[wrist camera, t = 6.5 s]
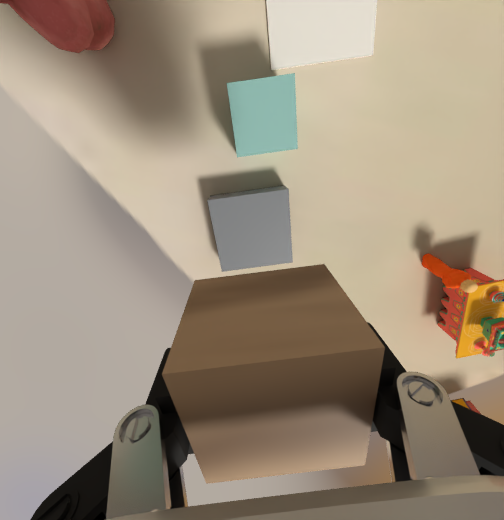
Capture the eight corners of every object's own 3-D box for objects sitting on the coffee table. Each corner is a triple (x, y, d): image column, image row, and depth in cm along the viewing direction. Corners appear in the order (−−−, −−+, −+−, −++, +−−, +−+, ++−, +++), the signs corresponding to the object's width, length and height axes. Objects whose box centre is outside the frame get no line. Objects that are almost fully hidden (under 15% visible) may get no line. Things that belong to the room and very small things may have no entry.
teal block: (229, 97, 22) (226, 83, 17) (283, 89, 22) (294, 73, 17) (237, 155, 24) (237, 157, 19) (286, 148, 24) (297, 148, 19)
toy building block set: (400, 419, 44) (465, 529, 32) (410, 257, 30) (540, 339, 17) (467, 407, 44) (562, 514, 31) (513, 234, 29) (731, 301, 16)
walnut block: (194, 280, 11) (161, 374, 6) (324, 264, 11) (385, 347, 6) (218, 370, 13) (206, 483, 9) (322, 357, 13) (364, 465, 9)
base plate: (210, 195, 25) (207, 200, 23) (284, 185, 25) (288, 189, 23) (223, 262, 29) (222, 271, 26) (288, 253, 28) (292, 262, 26)
